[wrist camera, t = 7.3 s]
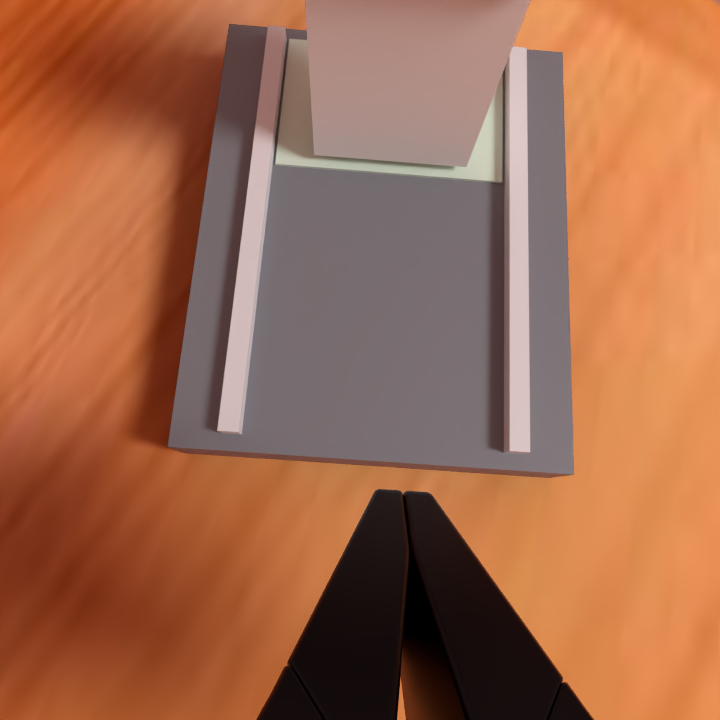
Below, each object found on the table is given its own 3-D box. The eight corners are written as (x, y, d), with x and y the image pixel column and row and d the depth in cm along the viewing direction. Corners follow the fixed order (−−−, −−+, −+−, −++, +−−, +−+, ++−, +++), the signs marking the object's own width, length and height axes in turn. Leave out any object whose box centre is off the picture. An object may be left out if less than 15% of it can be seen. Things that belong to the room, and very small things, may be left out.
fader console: (549, 477, 19) (581, 473, 17) (184, 453, 19) (161, 444, 16) (543, 90, 23) (569, 39, 20) (238, 65, 23) (226, 9, 20)
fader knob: (481, 182, 19) (618, -125, 10) (297, 167, 19) (261, -159, 10) (482, 78, 20) (608, -290, 11) (308, 63, 20) (284, -322, 11)
